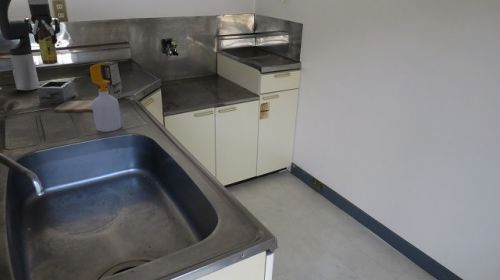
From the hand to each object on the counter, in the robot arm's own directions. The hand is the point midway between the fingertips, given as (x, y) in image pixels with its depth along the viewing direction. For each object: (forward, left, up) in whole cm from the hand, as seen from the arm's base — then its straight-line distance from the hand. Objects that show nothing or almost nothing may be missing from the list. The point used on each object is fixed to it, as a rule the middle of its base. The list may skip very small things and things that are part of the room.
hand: (46, 43), depth 166 cm
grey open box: (0, -2, -25) cm, 25 cm away
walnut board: (+14, -12, -25) cm, 31 cm away
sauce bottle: (0, 0, -9) cm, 9 cm away
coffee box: (+24, +2, -25) cm, 35 cm away
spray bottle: (+34, -37, -25) cm, 56 cm away
